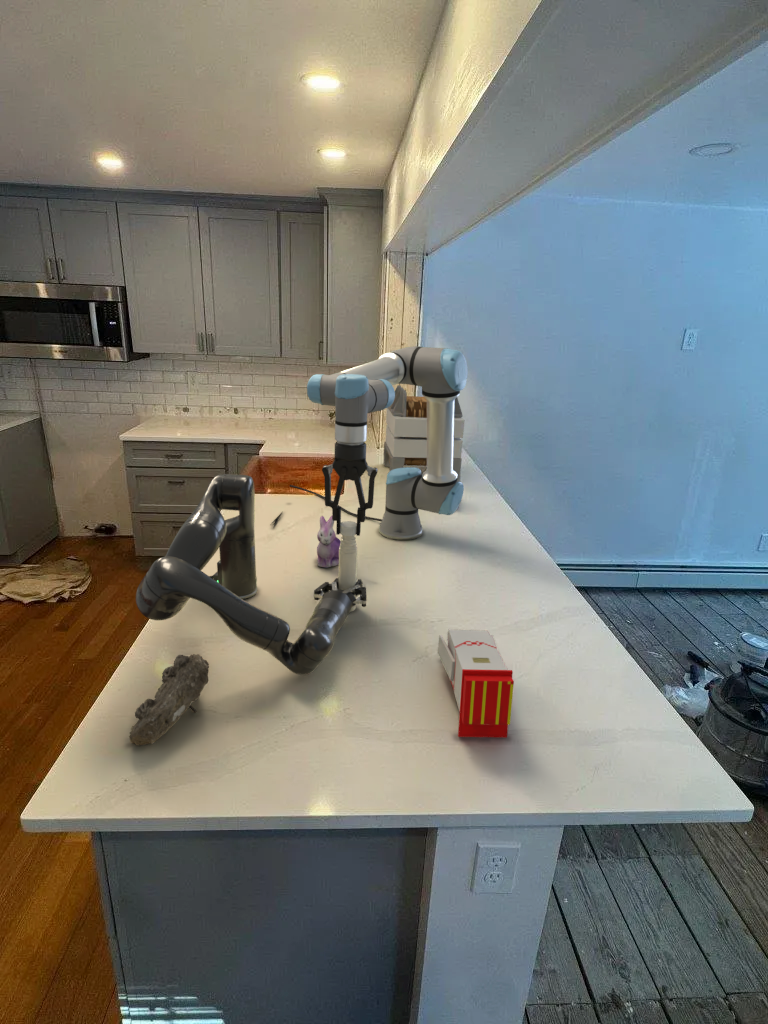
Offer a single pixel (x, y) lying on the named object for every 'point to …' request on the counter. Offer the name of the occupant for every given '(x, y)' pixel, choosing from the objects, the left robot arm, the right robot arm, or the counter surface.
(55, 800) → the counter surface
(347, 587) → the bottle
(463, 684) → the toy
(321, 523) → the figurine
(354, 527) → the cap
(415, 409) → the grey slatted box
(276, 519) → the feather
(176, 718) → the fossil
